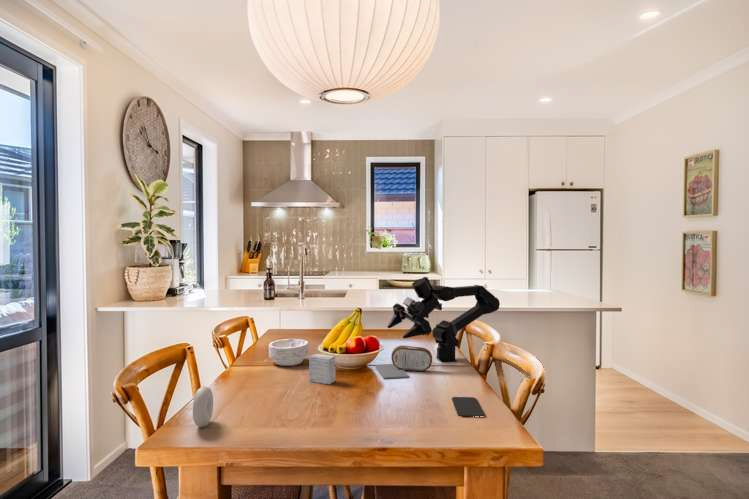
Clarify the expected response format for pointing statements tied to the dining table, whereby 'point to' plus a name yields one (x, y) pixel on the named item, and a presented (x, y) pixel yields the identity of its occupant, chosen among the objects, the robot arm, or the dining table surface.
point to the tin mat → (391, 371)
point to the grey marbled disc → (203, 406)
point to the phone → (467, 406)
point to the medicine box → (322, 368)
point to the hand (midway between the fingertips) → (395, 332)
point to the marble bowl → (288, 351)
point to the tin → (411, 358)
